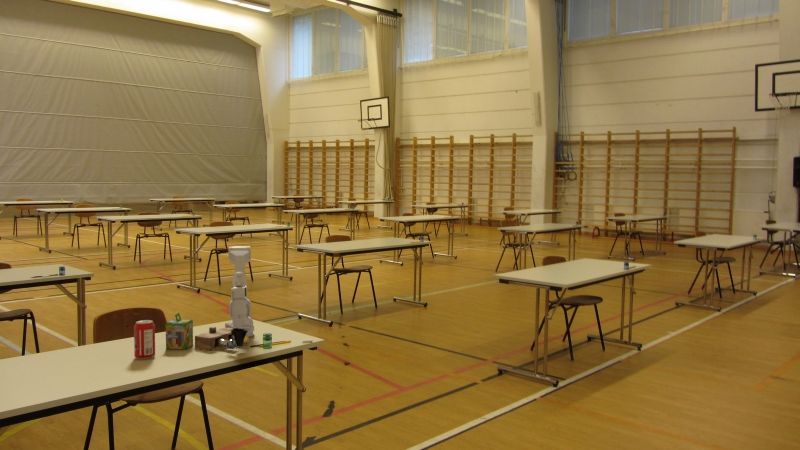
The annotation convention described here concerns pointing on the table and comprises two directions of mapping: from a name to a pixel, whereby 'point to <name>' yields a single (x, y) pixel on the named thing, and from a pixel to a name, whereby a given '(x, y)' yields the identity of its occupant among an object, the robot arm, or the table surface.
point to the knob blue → (226, 343)
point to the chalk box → (179, 333)
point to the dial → (212, 329)
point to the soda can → (144, 339)
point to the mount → (211, 339)
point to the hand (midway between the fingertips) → (239, 346)
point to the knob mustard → (245, 342)
